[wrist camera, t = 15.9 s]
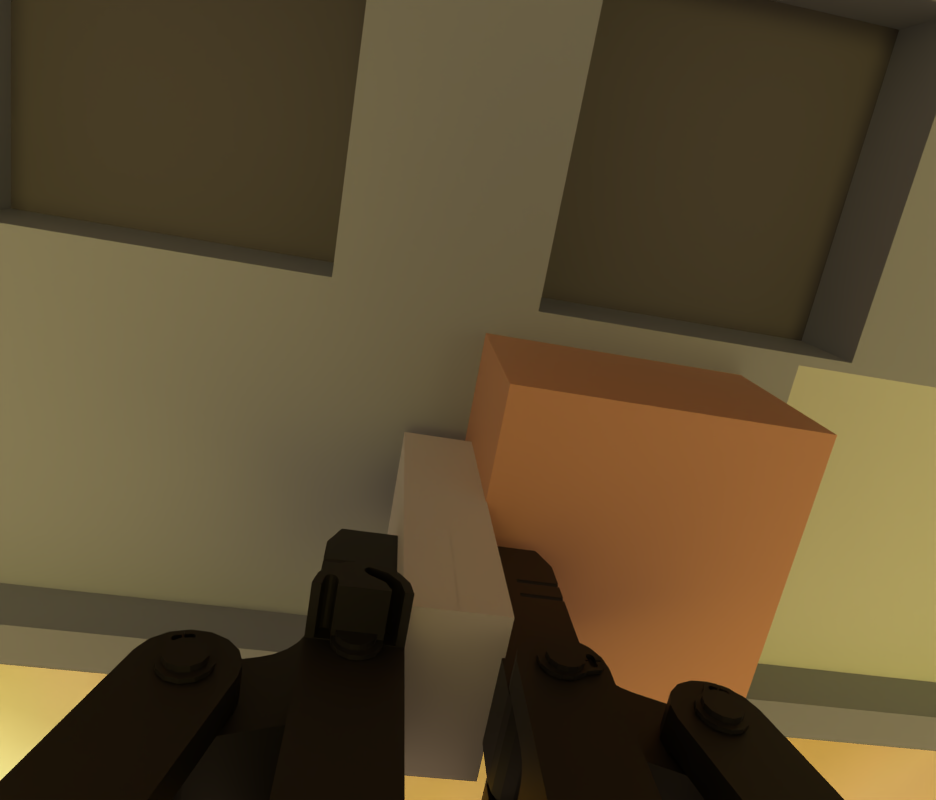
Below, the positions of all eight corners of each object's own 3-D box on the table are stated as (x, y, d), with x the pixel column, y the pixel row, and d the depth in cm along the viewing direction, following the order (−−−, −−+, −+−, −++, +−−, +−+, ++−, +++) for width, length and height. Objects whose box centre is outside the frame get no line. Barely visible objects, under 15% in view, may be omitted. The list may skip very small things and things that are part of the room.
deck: (-393, -280, 14) (-874, -548, 9) (1198, 89, 18) (1514, 57, 13) (-289, 528, 19) (-559, 668, 13) (951, 664, 23) (1110, 809, 18)
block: (485, 333, 16) (510, 383, 12) (740, 374, 17) (837, 434, 13) (439, 572, 18) (448, 681, 14) (673, 600, 19) (741, 711, 15)
